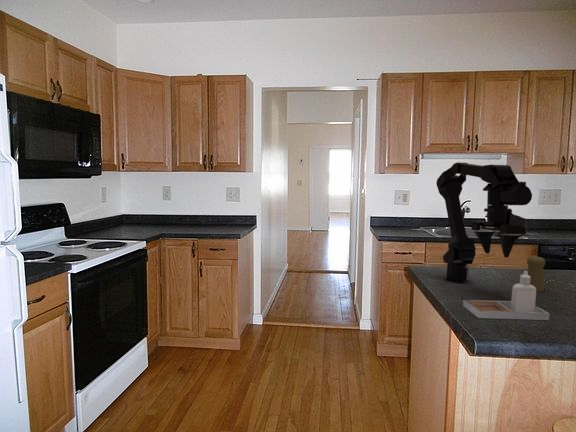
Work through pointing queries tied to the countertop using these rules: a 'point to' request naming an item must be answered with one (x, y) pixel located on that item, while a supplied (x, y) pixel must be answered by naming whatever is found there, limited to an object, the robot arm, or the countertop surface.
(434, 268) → the countertop surface
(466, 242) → the robot arm
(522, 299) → the eye dropper bottle
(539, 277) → the cork
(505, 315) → the tray
